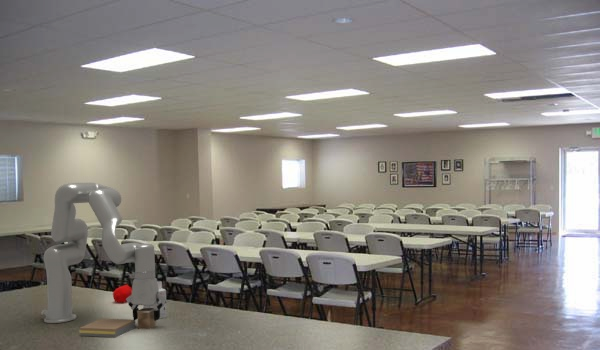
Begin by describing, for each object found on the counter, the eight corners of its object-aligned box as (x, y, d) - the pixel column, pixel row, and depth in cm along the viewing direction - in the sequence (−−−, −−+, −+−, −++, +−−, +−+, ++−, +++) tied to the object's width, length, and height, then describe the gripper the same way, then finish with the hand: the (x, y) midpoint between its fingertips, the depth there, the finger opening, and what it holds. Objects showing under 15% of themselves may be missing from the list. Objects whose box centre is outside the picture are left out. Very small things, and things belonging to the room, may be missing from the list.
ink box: (147, 320, 231) (146, 285, 231) (143, 318, 236) (142, 283, 236) (167, 317, 236) (166, 282, 236) (163, 315, 240) (162, 280, 240)
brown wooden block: (137, 328, 219) (137, 310, 219) (144, 325, 224) (143, 307, 224) (149, 329, 218) (149, 311, 218) (156, 325, 223) (155, 308, 223)
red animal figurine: (107, 292, 267) (116, 289, 275) (114, 307, 266) (123, 303, 274) (120, 286, 265) (129, 282, 273) (127, 300, 265) (136, 296, 273)
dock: (79, 336, 211) (79, 328, 211) (101, 326, 225) (101, 318, 225) (114, 337, 207) (114, 329, 207) (135, 327, 221) (135, 319, 221)
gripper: (120, 276, 220) (121, 321, 220) (160, 277, 216) (161, 322, 216) (130, 273, 227) (131, 316, 227) (169, 274, 223) (171, 317, 223)
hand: (146, 319), depth 221 cm, fingers open, 8 cm apart
